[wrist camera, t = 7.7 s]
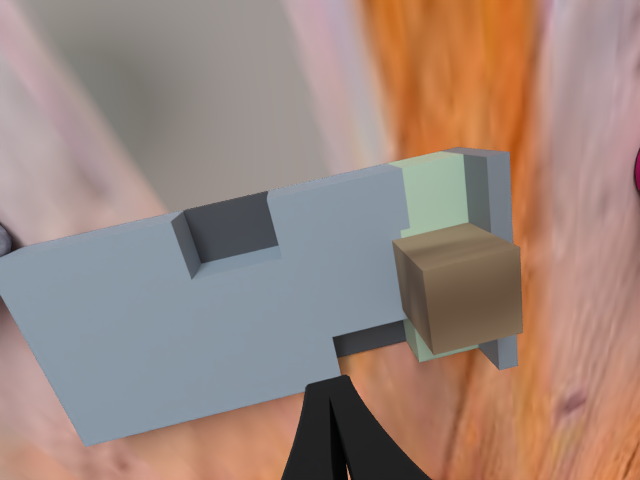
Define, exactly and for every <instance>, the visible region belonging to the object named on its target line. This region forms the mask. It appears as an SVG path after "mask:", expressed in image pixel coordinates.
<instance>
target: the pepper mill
mask: <svg viewBox="0 0 640 480" xmlns="http://www.w3.org/2000/svg"><path fill="white" fill-rule="evenodd" d="M635 174H636V183H637V187H638V189H639V191H640V151H639V154H638V157H637V162H636V169H635Z"/></svg>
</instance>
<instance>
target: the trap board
mask: <svg viewBox="0 0 640 480" xmlns="http://www.w3.org/2000/svg"><path fill="white" fill-rule="evenodd" d="M468 222H469V223H471V224H473V225H475V226H477V227H479V228H481V229H483V230H486V231H488V232H490V233H492V234H494V235H496V236H498V237H500V238H502V239H504V240H506V241H508V242H510V243H512V244H513V230H512V204H511V179H510V153H509V152H504V151H494V150H483V149H472V148H461V147H457V148H452V149H448V150H444V151H439V152H435V153H431V154H426V155H422V156H418V157H413V158H409V159H405V160H400V161H396V162H391V163H387V164H383V165H378V166H374V167H370V168H365V169H361V170H357V171H352V172H348V173H344V174H339V175H335V176H331V177H326V178H322V179H318V180H313V181H309V182H304V183H300V184H296V185H292V186H287V187H283V188H278V189H274V190H270V191H266V192H261V193H257V194H253V195H248V196H244V197H239V198H235V199H230V200H226V201H222V202H217V203H213V204H209V205H204V206H200V207H196V208H191V209H187V210H183V211H178V212H174V213H169V214H165V215H161V216H156V217H152V218H148V219H143V220H139V221H135V222H130V223H126V224H122V225H117V226H113V227H108V228H104V229H100V230H95V231H91V232H87V233H82V234H78V235H74V236H69V237H65V238H61V239H56V240H52V241H48V242H43V243H39V244H34V245H30V246H26V247H22V248H20V249H17V250H15V251H13V252H11V253H9V254H6V255H4V256H2V257H0V295H1V297H2V299H3V301H4V302H5V304H6V306H7V308H8V309H9V311H10V313H11V315H12V317H13V318H14V320H15V322H16V324H17V326H18V327H19V329H20V331H21V333H22V335H23V336H24V338H25V340H26V342H27V343H28V345H29V347H30V349H31V351H32V352H33V354H34V356H35V358H36V360H37V361H38V363H39V365H40V367H41V369H42V370H43V372H44V374H45V376H46V377H47V379H48V381H49V383H50V385H51V386H52V388H53V390H54V392H55V394H56V395H57V397H58V399H59V401H60V403H61V404H62V406H63V408H64V410H65V411H66V413H67V415H68V417H69V419H70V420H71V422H72V424H73V426H74V428H75V429H76V431H77V433H78V435H79V437H80V438H81V440H82V442H83V444H84V445H85V447H87V446H91V445H95V444H99V443H103V442H107V441H111V440H115V439H119V438H123V437H127V436H131V435H135V434H139V433H143V432H146V431H150V430H154V429H158V428H162V427H166V426H170V425H174V424H178V423H182V422H186V421H190V420H194V419H198V418H202V417H206V416H210V415H214V414H218V413H222V412H226V411H230V410H234V409H238V408H242V407H246V406H250V405H253V404H257V403H261V402H265V401H269V400H273V399H277V398H281V397H285V396H289V395H293V394H297V393H301V392H305V387H306V386H307V385H308V384H310V383H314V382H318V381H322V380H326V379H330V378H334V377H338V376H341V373H340V369H339V364H338V360H337V358H339V357H343V356H347V355H351V354H355V353H359V352H363V351H367V350H371V349H375V348H379V347H383V346H387V345H391V344H395V343H399V342H403V341H407V342H408V344H409V346H410V347H411V349H412V351H413V352H414V354H415V356H416V357H417V359H418V361H419V362H424V361H428V360H432V359H436V358H440V357H444V356H448V355H452V354H456V353H460V352H463V351H467V350H471V349H475V348H479V349H480V350H481V351H482V352H483V353H484V354H485V355H486V356H487V357H488V358H489V360H490V361H491V362H492V363H493V364H494V365H495V366H496V367H497V368H498V369H499V370H503V369H507V368H511V367H515V366H518V359H517V334H516V335H512V336H508V337H504V338H500V339H497V340H493V341H489V342H485V343H481V344H477V345H473V346H469V347H465V348H461V349H457V350H453V351H449V352H445V353H441V354H437V355H433V354H432V352H431V351H430V349H429V348H428V346H427V345H426V343H425V342H424V341H423V339H422V338H421V336H420V335H419V333H418V332H417V330H416V329H415V327H414V326H413V324H412V323H411V321H410V320H409V319H408V317H407V316H406V314H405V313H404V311H403V309H402V302H401V296H400V290H399V283H398V277H397V270H396V264H395V257H394V251H393V244H392V240H396V239H401V238H405V237H409V236H413V235H417V234H421V233H426V232H430V231H434V230H438V229H442V228H447V227H451V226H455V225H459V224H463V223H468Z"/></svg>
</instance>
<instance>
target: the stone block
mask: <svg viewBox="0 0 640 480" xmlns="http://www.w3.org/2000/svg"><path fill="white" fill-rule="evenodd" d="M11 246H12V237H11V236H10V235H9V234H8V233H7V232H6V231H5V229H4V228H3V227H2V226H1V225H0V257H2V256H4V255H6V254H9V253H11Z"/></svg>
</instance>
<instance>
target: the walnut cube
mask: <svg viewBox="0 0 640 480" xmlns="http://www.w3.org/2000/svg"><path fill="white" fill-rule="evenodd" d="M392 244H393V251H394V257H395V264H396V270H397V277H398V283H399V290H400V296H401V302H402V309H403V311H404V313H405V314H406V316H407V317H408V319H409V320H410V321H411V323H412V324H413V326H414V327H415V329H416V330H417V332H418V333H419V335H420V336H421V338H422V339H423V341H424V342H425V343H426V345H427V346H428V348H429V349H430V351H431V352H432V354H433V355H437V354H441V353H445V352H449V351H453V350H457V349H461V348H465V347H469V346H473V345H477V344H481V343H485V342H489V341H493V340H497V339H500V338H504V337H508V336H512V335H516V334H520V333H523V323H522V292H521V261H520V247H518V246H516V245H514V244H512V243H510V242H508V241H506V240H504V239H502V238H500V237H498V236H496V235H494V234H492V233H490V232H488V231H486V230H483V229H481V228H479V227H477V226H475V225H473V224H471V223H469V222H468V223H463V224H459V225H455V226H451V227H447V228H442V229H438V230H434V231H430V232H426V233H421V234H417V235H413V236H409V237H405V238H401V239H396V240H392Z"/></svg>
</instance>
